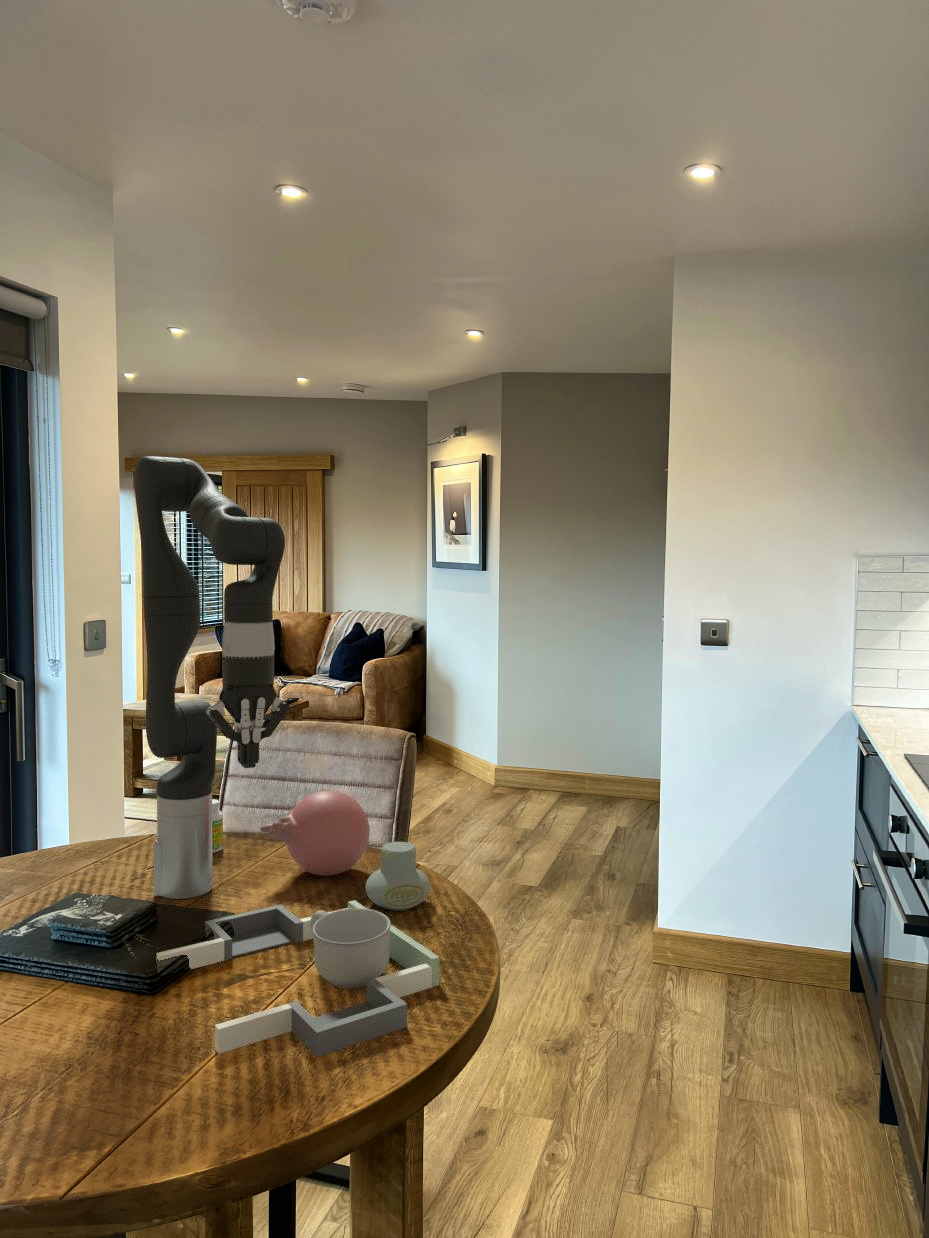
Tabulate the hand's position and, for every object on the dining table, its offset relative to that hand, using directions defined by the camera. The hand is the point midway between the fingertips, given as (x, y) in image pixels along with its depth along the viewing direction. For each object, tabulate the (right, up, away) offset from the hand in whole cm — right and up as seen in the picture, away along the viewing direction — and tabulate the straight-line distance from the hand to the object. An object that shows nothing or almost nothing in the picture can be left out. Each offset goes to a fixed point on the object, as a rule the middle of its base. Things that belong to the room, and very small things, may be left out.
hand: (248, 766), depth 135 cm
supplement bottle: (-19, -24, +44) cm, 54 cm away
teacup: (+16, -28, -8) cm, 33 cm away
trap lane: (+9, -28, -10) cm, 31 cm away
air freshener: (+21, -27, +18) cm, 38 cm away
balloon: (+5, -25, +31) cm, 41 cm away
